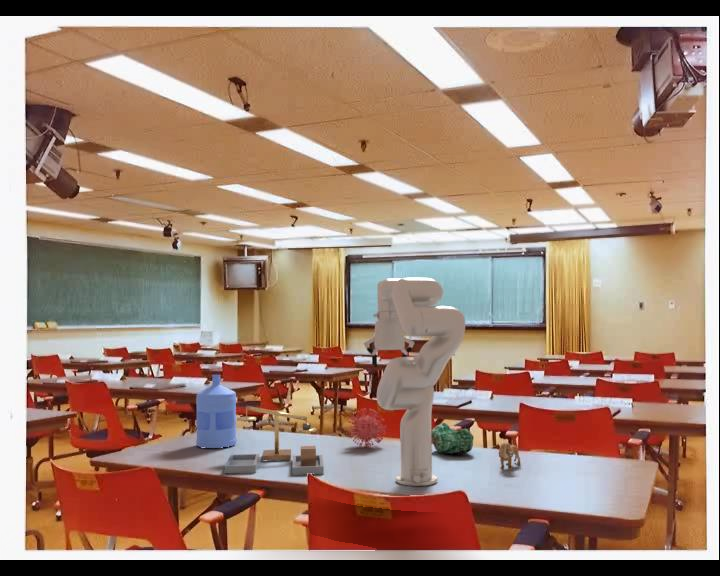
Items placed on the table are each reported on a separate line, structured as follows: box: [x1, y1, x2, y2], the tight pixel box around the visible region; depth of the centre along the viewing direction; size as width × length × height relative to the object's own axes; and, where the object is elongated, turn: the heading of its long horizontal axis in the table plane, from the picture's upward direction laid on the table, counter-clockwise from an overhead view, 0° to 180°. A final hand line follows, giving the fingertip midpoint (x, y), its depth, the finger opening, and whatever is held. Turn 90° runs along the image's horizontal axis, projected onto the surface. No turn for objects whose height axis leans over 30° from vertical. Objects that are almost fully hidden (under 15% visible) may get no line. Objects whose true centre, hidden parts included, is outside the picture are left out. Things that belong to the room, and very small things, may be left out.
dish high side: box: [224, 453, 260, 474], centre depth 225 cm, size 18×10×2 cm, turn 5°
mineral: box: [431, 422, 474, 455], centre depth 244 cm, size 18×16×10 cm
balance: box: [236, 405, 317, 461], centre depth 239 cm, size 10×28×19 cm, turn 95°
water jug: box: [195, 374, 237, 448], centre depth 264 cm, size 16×16×28 cm
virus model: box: [347, 407, 387, 448], centre depth 257 cm, size 15×15×15 cm
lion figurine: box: [498, 442, 521, 470], centre depth 220 cm, size 15×5×9 cm, turn 155°
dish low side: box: [291, 454, 325, 476], centre depth 222 cm, size 18×10×2 cm, turn 5°
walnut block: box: [300, 445, 317, 466], centre depth 222 cm, size 5×5×6 cm
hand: (389, 366), depth 225 cm, fingers open, 9 cm apart
